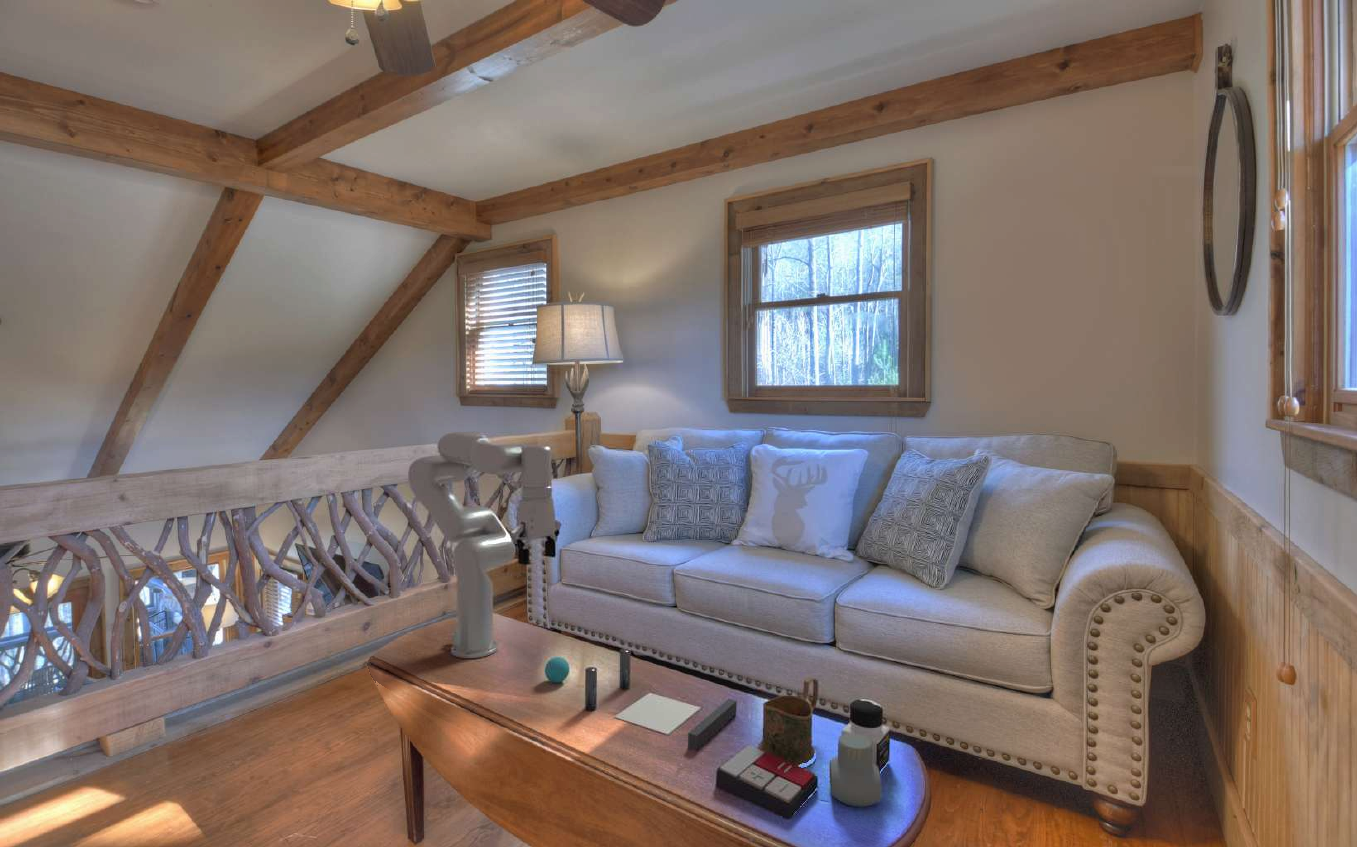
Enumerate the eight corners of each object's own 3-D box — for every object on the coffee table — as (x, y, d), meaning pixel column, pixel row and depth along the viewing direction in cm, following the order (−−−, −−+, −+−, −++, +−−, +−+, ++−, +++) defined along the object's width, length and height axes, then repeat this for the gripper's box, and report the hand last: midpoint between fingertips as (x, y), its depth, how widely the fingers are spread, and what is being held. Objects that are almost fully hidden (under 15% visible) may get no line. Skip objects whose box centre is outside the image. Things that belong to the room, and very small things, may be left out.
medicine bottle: (876, 780, 118) (878, 716, 118) (840, 766, 123) (841, 704, 122) (889, 763, 124) (891, 702, 124) (854, 751, 128) (855, 691, 128)
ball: (539, 683, 158) (539, 659, 157) (556, 674, 163) (556, 651, 163) (557, 689, 154) (558, 664, 154) (574, 680, 160) (574, 656, 159)
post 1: (582, 709, 144) (582, 669, 144) (589, 704, 147) (590, 666, 146) (591, 712, 143) (591, 672, 143) (598, 707, 145) (599, 668, 145)
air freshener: (828, 776, 119) (829, 723, 119) (874, 781, 118) (875, 727, 118) (832, 812, 109) (833, 754, 108) (882, 818, 107) (883, 759, 107)
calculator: (790, 801, 106) (715, 765, 115) (788, 826, 106) (714, 788, 116) (819, 772, 115) (748, 740, 124) (817, 795, 115) (746, 761, 124)
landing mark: (614, 717, 141) (614, 716, 141) (649, 693, 153) (649, 692, 153) (668, 735, 133) (668, 734, 133) (700, 708, 145) (700, 707, 145)
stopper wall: (688, 747, 129) (688, 732, 129) (728, 711, 144) (728, 698, 144) (696, 750, 128) (696, 735, 128) (736, 714, 143) (736, 700, 143)
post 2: (617, 687, 156) (617, 651, 155) (623, 684, 158) (624, 647, 158) (626, 690, 154) (626, 653, 154) (632, 686, 156) (632, 650, 156)
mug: (840, 739, 133) (841, 682, 132) (797, 776, 119) (798, 712, 119) (791, 721, 140) (792, 667, 140) (746, 754, 127) (747, 694, 126)
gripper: (548, 489, 173) (549, 552, 173) (500, 496, 158) (501, 565, 158) (570, 490, 169) (570, 555, 169) (523, 498, 154) (523, 569, 154)
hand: (537, 560), depth 164 cm, fingers open, 9 cm apart
